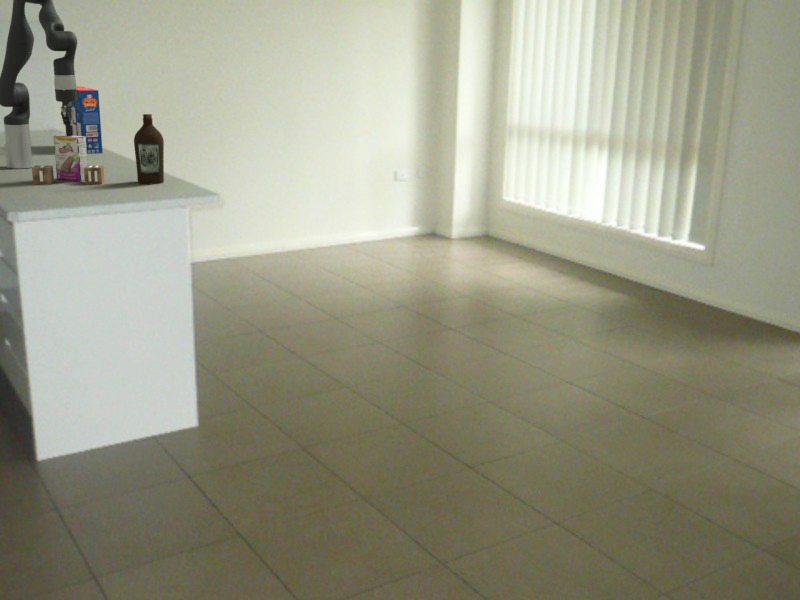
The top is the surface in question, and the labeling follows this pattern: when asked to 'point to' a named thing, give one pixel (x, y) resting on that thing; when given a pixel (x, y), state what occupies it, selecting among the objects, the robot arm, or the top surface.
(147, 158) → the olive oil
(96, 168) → the walnut block two
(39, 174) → the walnut block one
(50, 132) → the top surface
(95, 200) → the top surface
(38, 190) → the top surface
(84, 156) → the candy bar box
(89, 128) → the pasta box
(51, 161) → the top surface
